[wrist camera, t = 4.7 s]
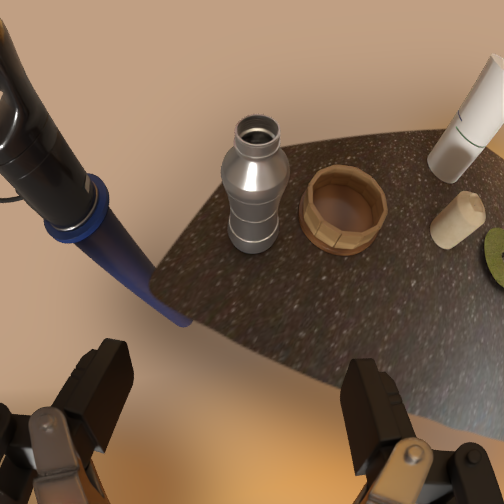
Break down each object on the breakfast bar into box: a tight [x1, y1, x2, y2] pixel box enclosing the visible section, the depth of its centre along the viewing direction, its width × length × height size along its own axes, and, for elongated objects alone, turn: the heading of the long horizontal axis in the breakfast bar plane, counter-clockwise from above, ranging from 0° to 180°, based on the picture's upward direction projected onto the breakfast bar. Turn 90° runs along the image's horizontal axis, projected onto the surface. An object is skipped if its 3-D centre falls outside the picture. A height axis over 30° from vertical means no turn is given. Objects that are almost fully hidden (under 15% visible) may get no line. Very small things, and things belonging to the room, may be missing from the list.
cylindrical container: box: [427, 54, 504, 183], centre depth 36 cm, size 7×7×25 cm
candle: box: [430, 191, 486, 249], centre depth 38 cm, size 6×6×10 cm
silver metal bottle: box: [221, 114, 290, 254], centre depth 32 cm, size 6×7×20 cm
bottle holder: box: [298, 164, 387, 256], centre depth 41 cm, size 12×12×5 cm
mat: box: [484, 228, 504, 287], centre depth 40 cm, size 11×11×2 cm
